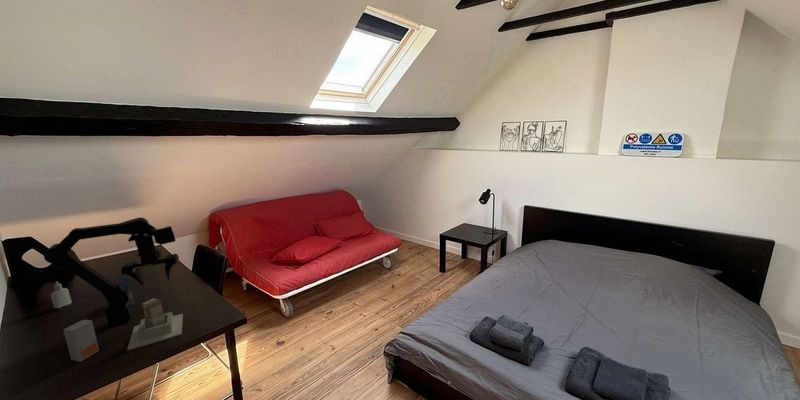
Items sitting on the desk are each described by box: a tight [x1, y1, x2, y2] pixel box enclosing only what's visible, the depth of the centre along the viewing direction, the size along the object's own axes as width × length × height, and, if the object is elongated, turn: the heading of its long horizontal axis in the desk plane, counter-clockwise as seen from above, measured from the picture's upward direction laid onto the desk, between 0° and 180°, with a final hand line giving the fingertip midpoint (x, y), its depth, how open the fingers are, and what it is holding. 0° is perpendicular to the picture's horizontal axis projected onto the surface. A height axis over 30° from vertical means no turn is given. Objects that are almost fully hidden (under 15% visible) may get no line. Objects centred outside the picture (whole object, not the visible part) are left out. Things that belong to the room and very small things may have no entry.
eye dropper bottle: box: [50, 281, 73, 309], centre depth 144 cm, size 4×6×12 cm
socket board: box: [127, 311, 184, 351], centre depth 125 cm, size 16×16×4 cm
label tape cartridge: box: [121, 274, 135, 307], centre depth 146 cm, size 9×4×12 cm, turn 50°
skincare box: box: [63, 319, 100, 362], centre depth 111 cm, size 6×4×12 cm
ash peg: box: [142, 297, 165, 328], centre depth 124 cm, size 4×4×12 cm
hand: (156, 282), depth 138 cm, fingers open, 9 cm apart
